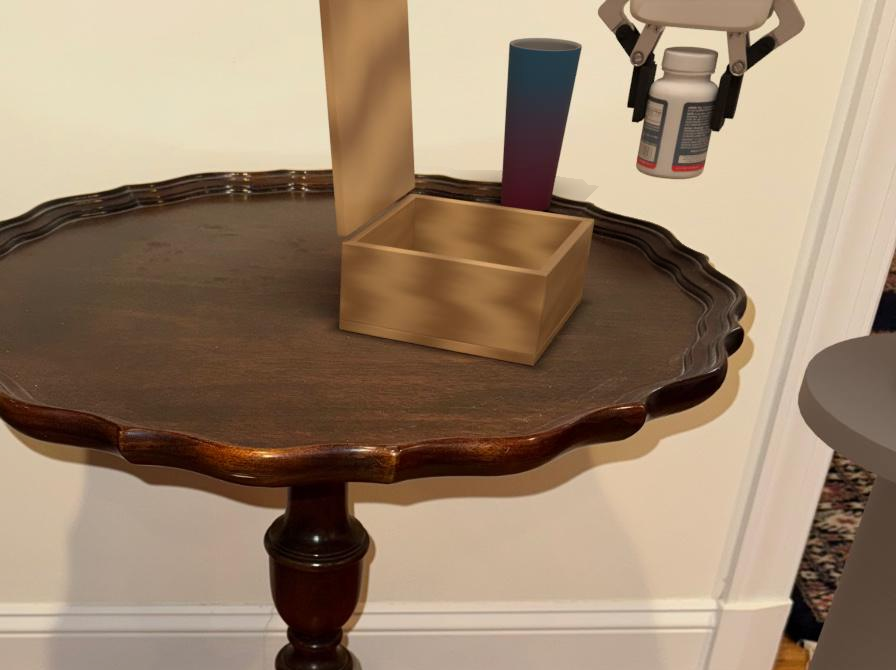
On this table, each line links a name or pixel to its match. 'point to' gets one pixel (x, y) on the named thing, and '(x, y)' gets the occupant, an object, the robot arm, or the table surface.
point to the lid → (368, 106)
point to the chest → (465, 276)
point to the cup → (536, 118)
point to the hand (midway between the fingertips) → (678, 120)
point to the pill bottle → (679, 115)
